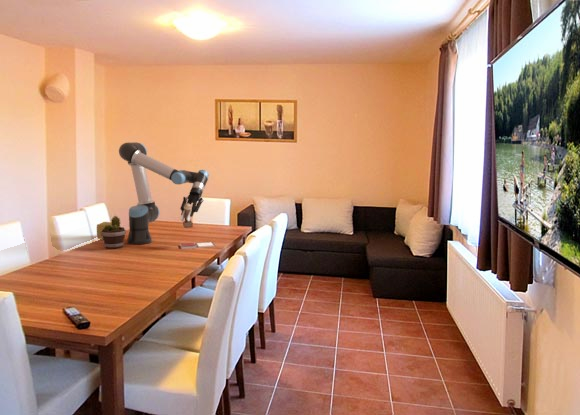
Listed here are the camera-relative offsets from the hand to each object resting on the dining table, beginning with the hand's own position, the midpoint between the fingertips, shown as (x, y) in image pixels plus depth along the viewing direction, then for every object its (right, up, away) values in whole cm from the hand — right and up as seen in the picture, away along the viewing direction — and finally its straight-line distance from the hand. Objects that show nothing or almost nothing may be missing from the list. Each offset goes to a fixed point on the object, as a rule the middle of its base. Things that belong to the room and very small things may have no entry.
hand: (184, 220), depth 272 cm
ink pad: (+1, -17, +6) cm, 18 cm away
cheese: (-59, -13, +28) cm, 67 cm away
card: (+10, -16, +12) cm, 23 cm away
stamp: (+1, -4, +4) cm, 6 cm away
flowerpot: (-44, -17, +2) cm, 47 cm away
